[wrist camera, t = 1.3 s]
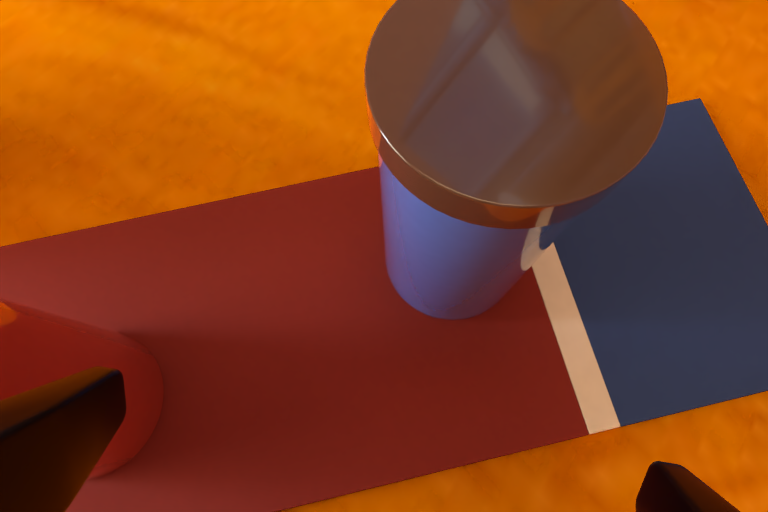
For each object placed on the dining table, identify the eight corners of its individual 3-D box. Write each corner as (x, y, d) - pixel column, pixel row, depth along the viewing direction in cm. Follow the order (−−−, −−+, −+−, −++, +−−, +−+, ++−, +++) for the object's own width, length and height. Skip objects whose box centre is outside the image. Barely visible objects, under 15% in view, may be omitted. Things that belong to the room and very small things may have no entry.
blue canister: (539, 306, 22) (722, 169, 9) (399, 338, 21) (402, 239, 9) (496, 181, 24) (602, -64, 12) (368, 208, 23) (338, -13, 11)
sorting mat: (836, 372, 21) (845, 371, 20) (-34, 586, 19) (-43, 590, 19) (696, 102, 25) (700, 97, 25) (-17, 254, 24) (-24, 251, 23)
